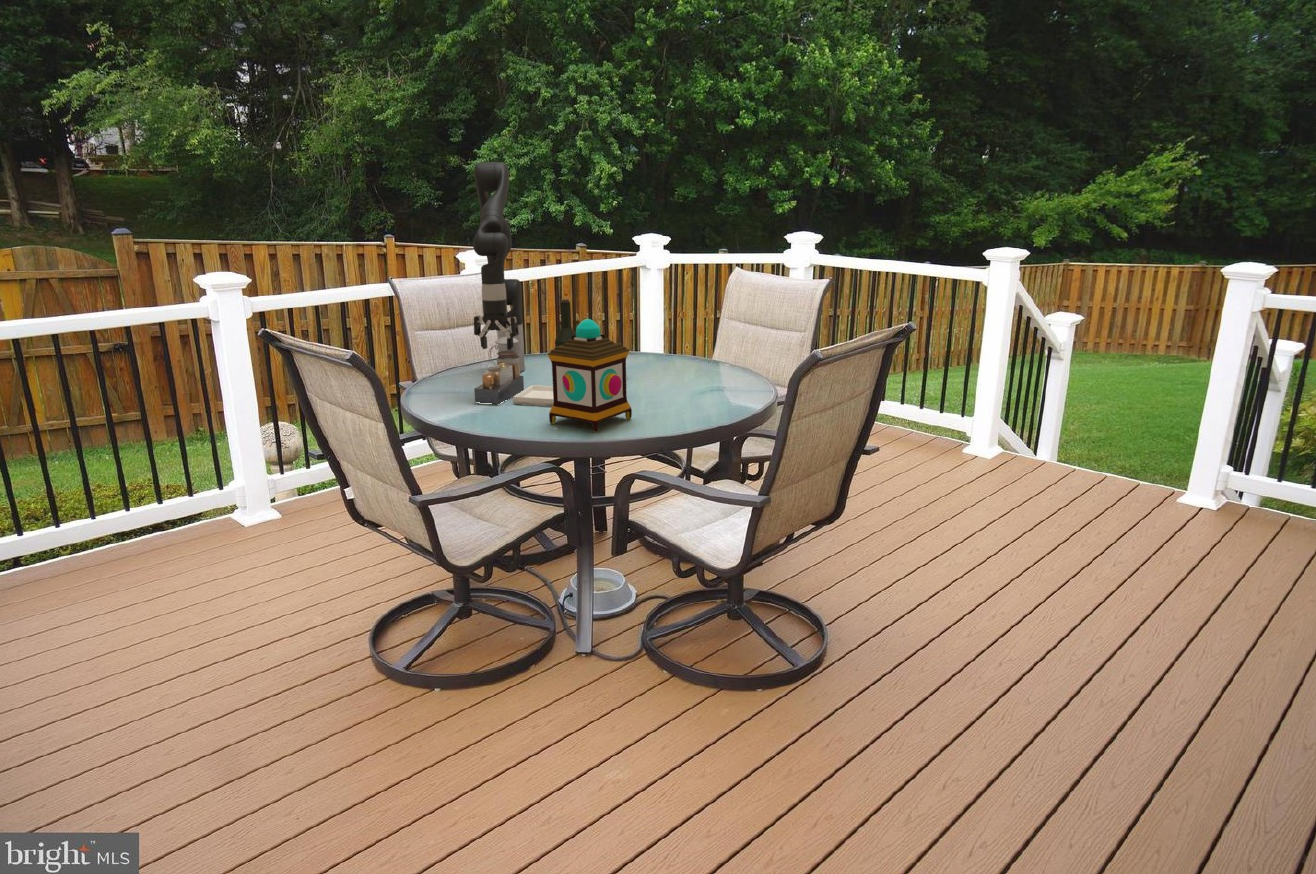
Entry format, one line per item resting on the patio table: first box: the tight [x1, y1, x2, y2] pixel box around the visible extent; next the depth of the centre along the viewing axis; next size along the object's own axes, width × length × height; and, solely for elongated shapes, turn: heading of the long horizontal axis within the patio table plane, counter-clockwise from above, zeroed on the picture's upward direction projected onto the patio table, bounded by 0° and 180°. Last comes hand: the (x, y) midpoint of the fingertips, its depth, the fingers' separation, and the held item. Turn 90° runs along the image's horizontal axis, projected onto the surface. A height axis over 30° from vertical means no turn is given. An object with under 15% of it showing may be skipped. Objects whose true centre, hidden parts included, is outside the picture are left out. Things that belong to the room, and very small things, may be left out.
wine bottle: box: [554, 298, 576, 348], centre depth 288 cm, size 8×8×30 cm
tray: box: [512, 384, 554, 408], centre depth 279 cm, size 16×14×2 cm
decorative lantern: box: [547, 318, 633, 433], centre depth 250 cm, size 20×20×30 cm
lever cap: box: [484, 363, 513, 386], centre depth 281 cm, size 10×5×6 cm, turn 165°
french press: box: [487, 309, 521, 376], centre depth 302 cm, size 10×12×25 cm
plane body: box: [473, 363, 525, 405], centre depth 282 cm, size 20×8×9 cm, turn 165°
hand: (497, 349), depth 278 cm, fingers open, 8 cm apart
